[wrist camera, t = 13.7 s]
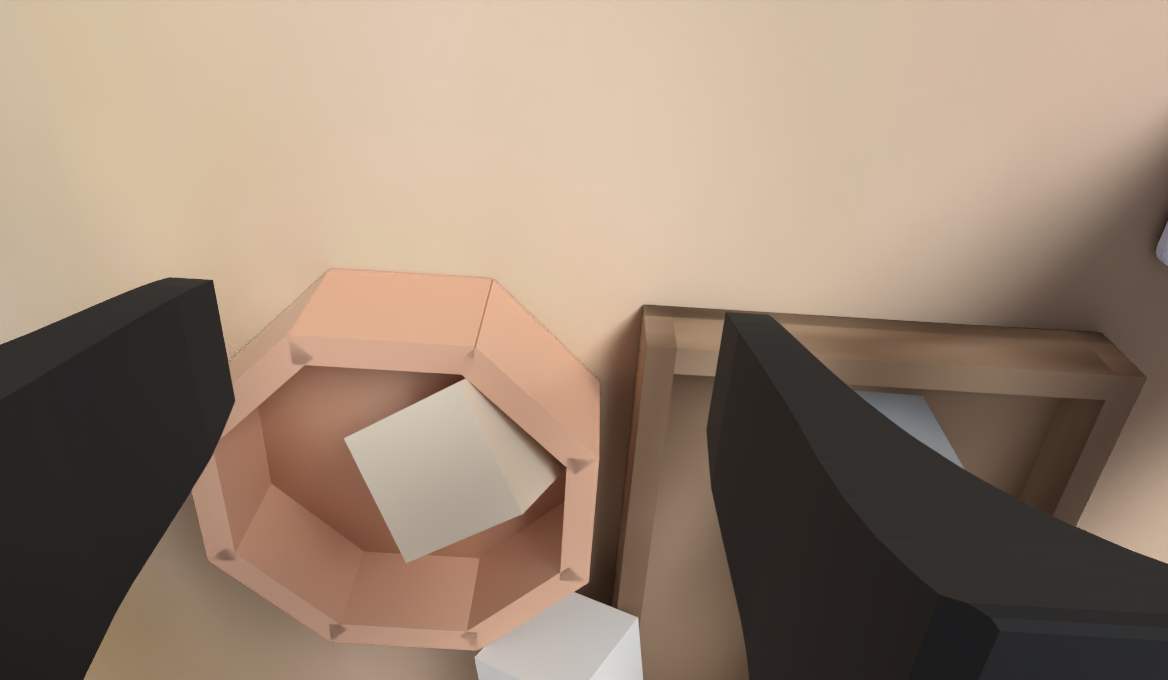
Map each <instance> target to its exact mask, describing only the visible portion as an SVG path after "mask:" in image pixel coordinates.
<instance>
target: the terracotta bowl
mask: <svg viewBox="0 0 1168 680" xmlns="http://www.w3.org/2000/svg"><path fill="white" fill-rule="evenodd" d="M229 369H230V374H231V380H232V385H233V390H234V396H235V403H234V406H233V408H232V411H231V413H230V416H229V418H228V421H227V423H226V426H225V428H224V431H223V433H222V435H221V437H220V440H219V442H218V444H217V446H216V448H215V451H214V453H213V455H212V457H211V459H210V461H209V462H208V464H207V466H206V468H205V469H204V471H203V473H202V474H201V476H200V477H199V479H198V481H197V482H196V484H195V485H194V487H193V489H192V490H191V491H192V495H193V500H194V504H195V508H196V512H197V517H198V521H199V525H200V529H201V534H202V538H203V542H204V546H205V551H206V555H207V559H208V560H209V562H211V563H212V564H214V565H215V566H217V567H218V568H220V569H221V570H223V571H224V572H226V573H227V574H229V575H230V576H232V577H233V578H235V579H236V580H238V581H239V582H241V583H242V584H244V585H245V586H247V587H248V588H250V589H251V590H253V591H254V592H256V593H257V594H259V595H260V596H262V597H263V598H265V599H266V600H268V601H269V602H271V603H272V604H274V605H275V606H277V607H278V608H280V609H281V610H283V611H284V612H286V613H287V614H289V615H290V616H292V617H293V618H295V619H296V620H298V621H299V622H301V623H302V624H304V625H305V626H307V627H308V628H310V629H311V630H313V631H314V632H316V633H317V634H319V635H320V636H322V637H323V638H325V639H326V640H328V641H329V642H330V641H331V642H335V643H352V644H369V645H387V646H404V647H422V648H439V649H456V650H474V651H477V650H480V649H482V648H484V647H485V646H487V645H488V644H490V643H492V642H493V641H495V640H497V639H498V638H500V637H501V636H503V635H505V634H506V633H508V632H509V631H511V630H513V629H514V628H516V627H518V626H519V625H521V624H522V623H524V622H526V621H527V620H529V619H531V618H532V617H534V616H535V615H537V614H539V613H540V612H542V611H544V610H545V609H547V608H548V607H550V606H552V605H553V604H555V603H557V602H558V601H560V600H561V599H563V598H565V597H566V596H568V595H570V594H571V593H573V592H574V591H576V590H578V589H579V588H581V587H583V586H584V585H586V584H587V583H588V582H589V573H590V561H591V550H592V538H593V526H594V515H595V503H596V491H597V480H598V468H599V431H600V381H599V380H598V379H597V378H596V377H595V376H594V375H593V374H592V373H591V372H589V371H588V370H587V369H586V368H585V367H584V366H583V365H582V364H581V363H580V362H579V361H578V360H577V359H576V358H575V357H574V356H573V355H572V354H571V353H570V352H569V351H568V350H567V349H566V348H564V347H563V346H562V345H561V344H560V343H559V342H558V341H557V340H556V339H555V338H554V337H553V336H552V335H551V334H550V333H549V332H548V331H547V330H546V329H545V328H544V327H543V326H542V325H541V324H540V323H538V322H537V321H536V320H535V319H534V318H533V317H532V316H531V315H530V314H529V313H528V312H527V311H526V310H525V309H524V308H523V307H522V306H521V305H520V304H519V303H518V302H517V301H516V300H515V299H513V298H512V297H511V296H510V295H509V294H508V293H507V292H506V291H505V290H504V289H503V288H502V287H501V286H500V285H499V284H498V283H497V282H496V281H495V280H494V279H493V280H492V279H489V278H473V277H457V276H441V275H425V274H409V273H393V272H377V271H360V270H344V269H330V270H328V271H326V272H325V273H324V274H323V275H322V276H321V277H320V278H319V279H318V280H317V281H316V282H315V283H314V284H312V285H311V286H310V287H309V288H308V289H307V290H306V291H305V292H304V293H303V294H302V295H301V296H300V297H298V298H297V299H296V300H295V301H294V302H293V303H292V304H291V305H290V306H289V307H288V308H287V309H286V310H284V311H283V312H282V313H281V314H280V315H279V316H278V317H277V318H276V319H275V320H274V321H273V322H272V323H270V324H269V325H268V326H267V327H266V328H265V329H264V330H263V331H262V332H261V333H260V334H259V335H257V336H256V337H255V338H254V339H253V340H252V341H251V342H250V343H249V344H248V345H247V346H246V347H245V348H243V349H242V350H241V351H240V352H239V353H238V354H237V355H236V356H235V357H234V358H233V359H232V360H231V361H230V363H229ZM464 379H467V380H468V381H469V382H471V383H472V384H473V385H474V386H475V387H476V388H477V389H478V390H480V391H481V392H482V393H483V394H484V395H485V396H486V397H487V398H489V399H490V400H491V401H492V402H493V403H494V404H495V405H497V406H498V407H499V408H500V409H501V410H502V411H503V412H504V413H506V414H507V415H508V416H509V417H510V418H511V419H512V420H514V421H515V422H516V423H517V424H518V425H519V426H520V427H521V428H523V429H524V430H525V431H526V432H527V433H528V434H529V435H530V436H532V437H533V438H534V439H535V440H536V441H537V442H538V443H540V444H541V445H542V446H543V447H544V448H545V449H546V450H547V451H549V452H550V453H551V454H552V455H553V456H554V457H555V458H557V459H558V460H559V461H560V462H561V463H562V464H563V465H564V466H565V467H566V469H565V470H564V471H563V472H562V473H561V474H560V475H559V476H558V477H557V478H556V480H555V481H554V482H553V483H552V484H551V485H550V486H549V487H548V488H547V489H546V490H545V491H544V492H543V493H542V494H541V495H540V496H539V497H538V498H537V500H536V501H535V502H534V503H533V504H532V505H531V506H530V507H529V508H528V509H527V510H526V511H525V512H524V513H523V514H521V515H519V516H517V517H514V518H512V519H510V520H507V521H505V522H502V523H500V524H498V525H495V526H493V527H491V528H488V529H486V530H484V531H481V532H479V533H476V534H474V535H472V536H469V537H467V538H465V539H462V540H460V541H458V542H455V543H453V544H450V545H448V546H446V547H443V548H441V549H439V550H436V551H434V552H431V553H429V554H427V555H424V556H422V557H420V558H417V559H415V560H413V561H410V562H408V563H406V562H405V560H404V558H403V556H402V554H401V552H400V550H399V548H398V546H397V544H396V542H395V540H394V538H393V536H392V534H391V532H390V530H389V528H388V526H387V524H386V522H385V520H384V518H383V516H382V514H381V512H380V510H379V508H378V506H377V504H376V502H375V500H374V498H373V496H372V494H371V492H370V490H369V488H368V486H367V484H366V482H365V480H364V478H363V476H362V474H361V472H360V470H359V468H358V466H357V464H356V462H355V460H354V458H353V456H352V454H351V452H350V450H349V448H348V446H347V444H346V442H345V440H344V438H346V437H348V436H350V435H352V434H354V433H356V432H358V431H360V430H362V429H364V428H366V427H368V426H370V425H372V424H374V423H376V422H378V421H380V420H382V419H384V418H386V417H388V416H390V415H392V414H394V413H396V412H398V411H401V410H403V409H405V408H407V407H409V406H411V405H413V404H415V403H417V402H419V401H421V400H423V399H425V398H427V397H429V396H431V395H433V394H435V393H437V392H439V391H441V390H443V389H445V388H447V387H449V386H451V385H453V384H455V383H457V382H459V381H462V380H464Z"/></svg>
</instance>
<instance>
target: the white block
mask: <svg viewBox="0 0 1168 680" xmlns="http://www.w3.org/2000/svg"><path fill="white" fill-rule="evenodd" d="M474 659H475V664H476V669H477V674H478V679H479V680H643V672H642V660H641V647H640V635H639V623H638V617H636V616H633V615H631V614H628V613H626V612H623V611H621V610H618V609H616V608H613V607H611V606H608V605H605V604H603V603H600V602H598V601H595V600H593V599H590V598H588V597H585V596H583V595H580V594H578V593H575V592H573V593H571V594H570V595H568V596H566V597H565V598H563V599H561V600H560V601H558V602H557V603H555V604H553V605H552V606H550V607H548V608H547V609H545V610H544V611H542V612H540V613H539V614H537V615H535V616H534V617H532V618H531V619H529V620H527V621H526V622H524V623H522V624H521V625H519V626H518V627H516V628H514V629H513V630H511V631H509V632H508V633H506V634H505V635H503V636H501V637H500V638H498V639H497V640H495V641H493V642H492V643H490V644H488V645H487V646H485V647H484V648H483V649H482V650H481V651H480V652H479V653H478V654H477V655H476V656H475V657H474Z"/></svg>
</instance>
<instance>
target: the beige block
mask: <svg viewBox="0 0 1168 680" xmlns="http://www.w3.org/2000/svg"><path fill="white" fill-rule="evenodd" d="M344 440H345V442H346V444H347V446H348V448H349V450H350V452H351V454H352V456H353V458H354V460H355V462H356V464H357V466H358V468H359V470H360V472H361V474H362V476H363V478H364V480H365V482H366V484H367V486H368V488H369V490H370V492H371V494H372V496H373V498H374V500H375V502H376V504H377V506H378V508H379V510H380V512H381V514H382V516H383V518H384V520H385V522H386V524H387V526H388V528H389V530H390V532H391V534H392V536H393V538H394V540H395V542H396V544H397V546H398V548H399V550H400V552H401V554H402V556H403V558H404V560H405V562H406V563H408V562H410V561H413V560H415V559H417V558H420V557H422V556H424V555H427V554H429V553H431V552H434V551H436V550H439V549H441V548H443V547H446V546H448V545H450V544H453V543H455V542H458V541H460V540H462V539H465V538H467V537H469V536H472V535H474V534H476V533H479V532H481V531H484V530H486V529H488V528H491V527H493V526H495V525H498V524H500V523H502V522H505V521H507V520H510V519H512V518H514V517H517V516H519V515H521V514H523V513H524V512H525V511H526V510H527V509H528V508H529V507H530V506H531V505H532V504H533V503H534V502H535V501H536V500H537V498H538V497H539V496H540V495H541V494H542V493H543V492H544V491H545V490H546V489H547V488H548V487H549V486H550V485H551V484H552V483H553V482H554V481H555V480H556V478H557V477H558V476H559V475H560V474H561V473H562V472H563V471H564V470H565V469H566V467H565V466H564V465H563V464H562V463H561V462H560V461H559V460H558V459H557V458H555V457H554V456H553V455H552V454H551V453H550V452H549V451H547V450H546V449H545V448H544V447H543V446H542V445H541V444H540V443H538V442H537V441H536V440H535V439H534V438H533V437H532V436H530V435H529V434H528V433H527V432H526V431H525V430H524V429H523V428H521V427H520V426H519V425H518V424H517V423H516V422H515V421H514V420H512V419H511V418H510V417H509V416H508V415H507V414H506V413H504V412H503V411H502V410H501V409H500V408H499V407H498V406H497V405H495V404H494V403H493V402H492V401H491V400H490V399H489V398H487V397H486V396H485V395H484V394H483V393H482V392H481V391H480V390H478V389H477V388H476V387H475V386H474V385H473V384H472V383H471V382H469V381H468V380H467V379H464V380H462V381H459V382H457V383H455V384H453V385H451V386H449V387H447V388H445V389H443V390H441V391H439V392H437V393H435V394H433V395H431V396H429V397H427V398H425V399H423V400H421V401H419V402H417V403H415V404H413V405H411V406H409V407H407V408H405V409H403V410H401V411H398V412H396V413H394V414H392V415H390V416H388V417H386V418H384V419H382V420H380V421H378V422H376V423H374V424H372V425H370V426H368V427H366V428H364V429H362V430H360V431H358V432H356V433H354V434H352V435H350V436H348V437H346V438H344Z"/></svg>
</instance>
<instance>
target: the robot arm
mask: <svg viewBox="0 0 1168 680" xmlns="http://www.w3.org/2000/svg"><path fill="white" fill-rule="evenodd" d="M1156 254H1157V258H1158V259H1159V260H1160V261H1161V262H1163V263H1164V264H1165V265H1167V266H1168V222H1167V224H1166V227H1165V229H1164V231H1163V233H1162V236H1161V238H1160V240H1159V242H1158V245H1157V249H1156ZM234 403H235V396H234V390H233V385H232V380H231V374H230V369H229V364H228V358H227V353H226V348H225V342H224V337H223V332H222V326H221V321H220V316H219V310H218V305H217V300H216V294H215V289H214V284H213V280H203V279H186V278H170V277H169V278H166V279H162V280H158V281H155V282H152V283H149V284H146V285H143V286H141V287H138V288H135V289H133V290H130V291H128V292H125V293H123V294H121V295H118V296H116V297H113V298H111V299H109V300H106V301H104V302H101V303H99V304H97V305H94V306H92V307H90V308H87V309H85V310H83V311H80V312H78V313H76V314H73V315H71V316H69V317H67V318H64V319H62V320H60V321H57V322H55V323H53V324H50V325H48V326H46V327H43V328H41V329H39V330H36V331H34V332H31V333H29V334H26V335H24V336H21V337H19V338H16V339H14V340H11V341H9V342H6V343H4V344H1V345H0V680H83V679H84V677H85V675H86V673H87V671H88V669H89V667H90V665H91V663H92V661H93V658H94V656H95V654H96V652H97V650H98V648H99V646H100V644H101V642H102V640H103V638H104V636H105V634H106V632H107V630H108V628H109V625H110V623H111V621H112V619H113V617H114V615H115V613H116V611H117V610H118V608H119V606H120V604H121V603H122V601H123V599H124V597H125V596H126V594H127V592H128V590H129V589H130V587H131V585H132V583H133V582H134V580H135V579H136V577H137V576H138V574H139V572H140V571H141V569H142V568H143V566H144V565H145V563H146V561H147V560H148V558H149V557H150V555H151V554H152V552H153V550H154V549H155V547H156V546H157V544H158V543H159V541H160V539H161V538H162V536H163V535H164V533H165V532H166V530H167V528H168V527H169V525H170V524H171V522H172V520H173V519H174V517H175V516H176V514H177V513H178V511H179V509H180V508H181V506H182V505H183V503H184V502H185V500H186V498H187V497H188V495H189V494H190V492H191V490H192V489H193V487H194V485H195V484H196V482H197V481H198V479H199V477H200V476H201V474H202V473H203V471H204V469H205V468H206V466H207V464H208V462H209V461H210V459H211V457H212V455H213V453H214V451H215V448H216V446H217V444H218V442H219V440H220V437H221V435H222V433H223V431H224V428H225V426H226V423H227V421H228V418H229V416H230V413H231V411H232V408H233V406H234ZM706 432H707V446H708V459H709V471H710V481H711V490H712V495H713V499H714V504H715V509H716V513H717V518H718V522H719V527H720V531H721V536H722V540H723V545H724V549H725V553H726V558H727V562H728V566H729V571H730V575H731V580H732V584H733V588H734V593H735V597H736V602H737V606H738V610H739V615H740V619H741V625H742V631H743V636H744V642H745V647H746V655H747V664H748V673H749V680H1168V564H1166V563H1164V562H1161V561H1158V560H1155V559H1153V558H1150V557H1147V556H1144V555H1142V554H1139V553H1136V552H1134V551H1131V550H1129V549H1126V548H1124V547H1121V546H1119V545H1117V544H1114V543H1112V542H1110V541H1107V540H1105V539H1103V538H1100V537H1098V536H1096V535H1094V534H1091V533H1089V532H1087V531H1084V530H1082V529H1080V528H1077V527H1075V526H1073V525H1071V524H1068V523H1066V522H1064V521H1062V520H1060V519H1058V518H1056V517H1053V516H1051V515H1049V514H1047V513H1045V512H1043V511H1041V510H1039V509H1037V508H1035V507H1033V506H1031V505H1029V504H1027V503H1025V502H1023V501H1021V500H1019V499H1017V498H1015V497H1014V496H1012V495H1010V494H1008V493H1006V492H1004V491H1002V490H1000V489H999V488H997V487H995V486H993V485H991V484H989V483H987V482H985V481H984V480H982V479H980V478H978V477H977V476H975V475H973V474H971V473H970V472H968V471H966V470H965V469H963V468H961V467H960V466H958V465H956V464H955V463H953V462H952V461H950V460H948V459H947V458H945V457H944V456H942V455H941V454H939V453H938V452H936V451H935V450H933V449H931V448H930V447H928V446H927V445H925V444H924V443H922V442H921V441H919V440H918V439H916V438H915V437H913V436H912V435H910V434H909V433H908V432H906V431H905V430H903V429H902V428H901V427H899V426H898V425H896V424H895V423H894V422H893V421H891V420H890V419H889V418H887V417H886V416H885V415H884V414H882V413H881V412H880V411H878V410H877V409H876V408H875V407H873V406H872V405H871V404H869V403H868V402H867V401H866V400H864V399H863V398H862V397H861V396H860V395H858V394H857V393H856V392H855V391H854V390H852V389H851V388H850V387H849V386H848V385H846V384H845V383H844V382H843V381H842V380H841V379H840V378H838V377H837V376H836V375H835V374H834V373H833V372H832V371H831V370H829V369H828V368H827V367H826V366H825V365H824V364H823V363H822V362H821V361H820V360H818V359H817V358H816V357H815V356H814V355H813V354H812V353H811V352H810V351H809V350H808V349H807V348H806V347H804V346H803V345H802V344H801V343H800V342H799V341H798V340H797V339H796V338H795V337H794V336H793V335H792V334H791V333H790V332H788V331H787V330H786V329H785V328H784V327H783V326H782V325H781V324H780V323H779V322H777V321H776V320H775V319H774V318H773V317H771V316H770V315H768V314H751V313H735V312H726V313H725V319H724V325H723V331H722V337H721V343H720V349H719V355H718V361H717V367H716V374H715V380H714V386H713V392H712V398H711V404H710V410H709V416H708V422H707V428H706Z"/></svg>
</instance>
